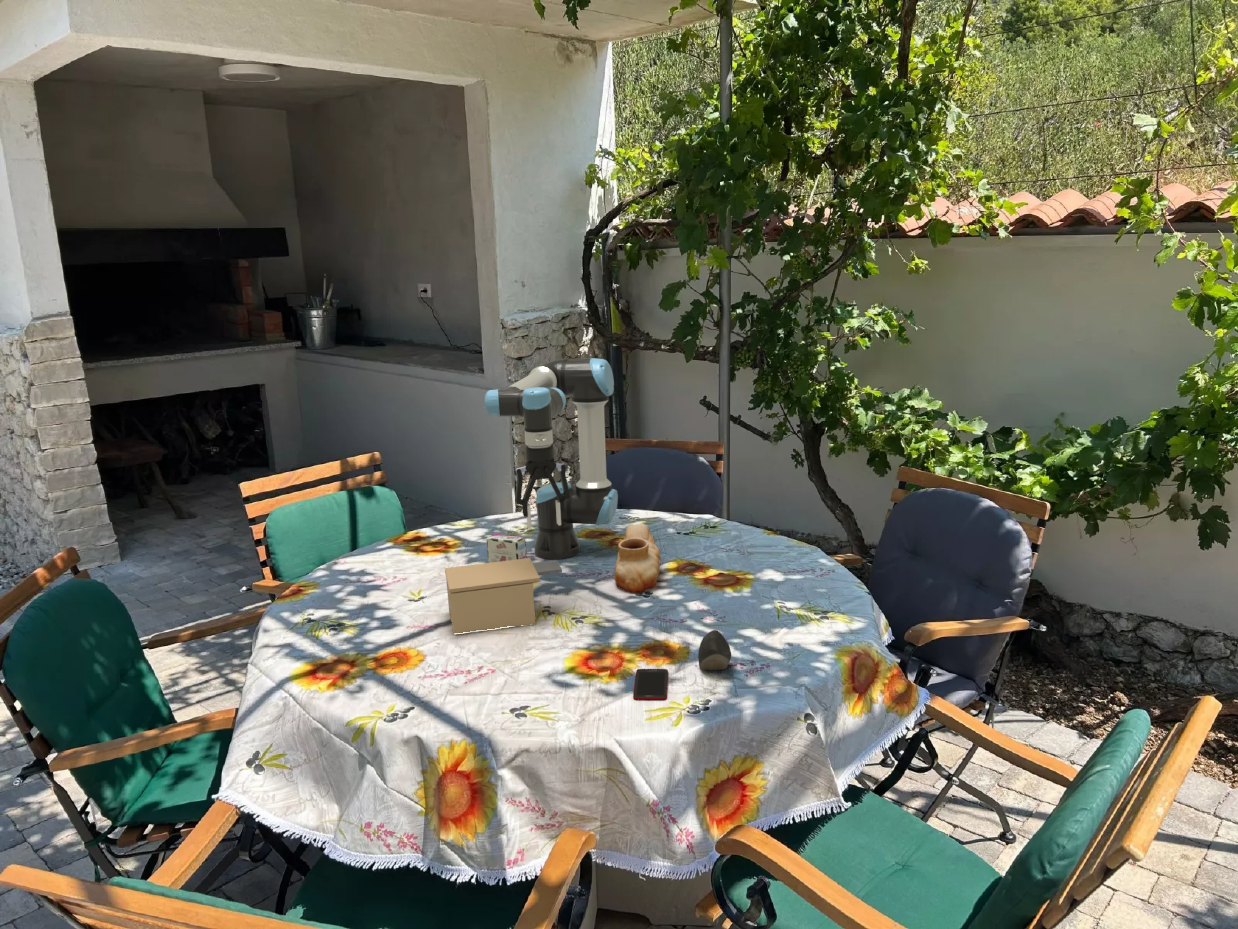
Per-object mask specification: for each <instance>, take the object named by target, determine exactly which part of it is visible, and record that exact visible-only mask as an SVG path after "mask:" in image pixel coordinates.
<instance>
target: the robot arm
mask: <svg viewBox="0 0 1238 929" xmlns="http://www.w3.org/2000/svg"><path fill="white" fill-rule="evenodd" d="M614 386H615V380H614V374H613V370H612V366H611V365H610V363H609V362H608V360H606V359H604V358H595V357H591V358H590V357H589V358H557V359H554V360H551V361H548V362H545V363H542V364H541V365H538V366H536V367H534V368H533V369H532V370H531V371H530V372H529V373H528V375H527V376H525V377H523V378H522V379H519V380H518V381H516V382H514V383H512V384H511V385H509V386H507V387H505V388H504V389H498V388H497V389H490V390H487V391H486V393H485V395H484V409H485V411H486V414H487V415H489V417H490V416H491V417H498V418H499V417H523V424H524V443H525V445H526V447H525V457H526V458H525V459H526V462H525V465H524V466H521V467H515V473H516V485H515V496H514V497H515V498H514V499H515V500H514V501H515V503H516V504H517V505H521V508H522V515H523V517H524V518H526V521H527V522H526V523H527V524H526V525H527V528H528V529H529V530H531V529H532V527H533V526H532V513H531V504H529V501H530V498H531V495H532V491H533V489H534V486H535V484H536V481H538V480H542V479H544V480H545V479H546V480H548V481H549V484H546V485H543V486H541V487H539V488H538V489H537V491H536V500H535V504H536V512H537V513H536V514H537V528H538V532H537V535H536V539H535V543H534V546H533V548H534V549H533V550H534V555H535V556H537V557H538V558H541V559H544V560H562V559H563V560H564V559H567V558H571V557H574V556H576V555H578V554H579V553H580V552H581V549H580V548H581V547H580V546H581V545H580V542H579V540H578V538H577V535H576V533H575V530H574V529H575V528H574V524H576V525H577V524H578V525H581V524H582V525H596V526H599V525H609V524H611V523H612V522H613V520H614V518H615V516H616V512H617V509H618V501H619V500H618V498H619V494H618V490H617V489H615V488H612V482H611V481H610V480H609V479H608V478H607V457H606V453H607V450H606V426H605V405H606V404H607V403H608V402H609V397H610V396H612V395H613V394H614V390H615V387H614ZM566 396H571V401H572V403H573V404H574V405H575V406H576V408H577V409H576V410H577V411H576V412H577V431H578V432H577V434H578V435H577V436H578V453H579V456H578V457H579V458H578V459H579V477H580V478H579V480H578V481H577V482H576V483H575V487H573V486H572V484H571V482H568V480H567V474H566V470H567V469H566V468H567V465H566V464H565V463H564V462H561V463H559V462H558V463H556V461H555V451H554V445H553V443H554V436H553V420H552V419H553V418H554V417H555V416H557V415H559V414H561V412H562V411H563V410H564V409H565V407H566V406H567V405H566V404H567V398H566ZM555 469H557V471H558V472H559V478H560V481H559V482H556V481H555V478H554V476H553V475H552V474H553V472H554V471H555ZM526 471H527V473H528V474H529V477H528V482H527V485H526V487H525V491H524V493H523V496H522V492H523V482H524V481H523V480H524V475H525V474H526V473H525V472H526Z"/></svg>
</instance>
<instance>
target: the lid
mask: <svg viewBox="0 0 1238 929" xmlns="http://www.w3.org/2000/svg"><path fill="white" fill-rule="evenodd" d="M562 572H563V568H562V567H561V565H560V564H559V562H558V559H551V560H544V561H538V562H532V560H531V558H530V557H527V558H525V559H517V560H508V561H500V562H492V563H488V562H486V563H477V564H469V565H461V566H460V565H459V566H454V567H453V566H452V567H445V568H444V573H445V580H446V579H447V582H446V584H447V583H448V588H449V592H450V593H453V592H461V591H469V590H476V589H484V588H492V587H500V586H508V585H515V584H523V583H531V582H532V583H538V582H540V581H541V579H540V576H546V575H552V574H554V575H555V574H561V573H562Z"/></svg>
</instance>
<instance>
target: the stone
mask: <svg viewBox="0 0 1238 929" xmlns="http://www.w3.org/2000/svg"><path fill="white" fill-rule="evenodd" d="M697 656H698V659H697V660H698V665H699V668H700V670H701V671H711V670H712V671H713V670H716V671H718V670H727V668H728V666H729V663H730V662H731V659H732V651H731V647H730V644H729V643H728V641H727V639H726V638H725V636H724V635H723V634H722V633H721V632H720V631H719V630H717V629H713V630H711V631H709V632H707V633H706V634H705V635H704V636H703V637H702V639H701V641H700V644H699V647H698V655H697Z"/></svg>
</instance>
